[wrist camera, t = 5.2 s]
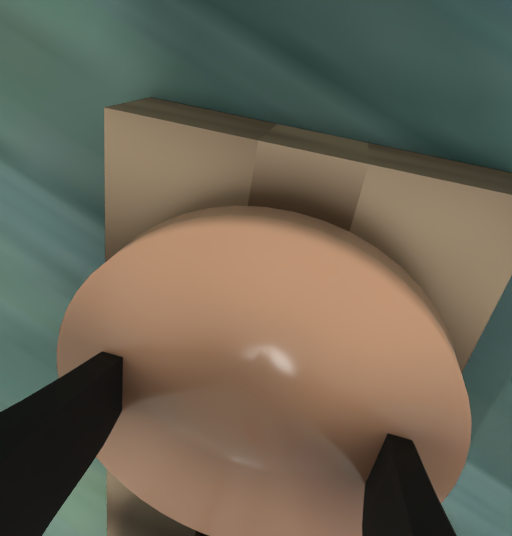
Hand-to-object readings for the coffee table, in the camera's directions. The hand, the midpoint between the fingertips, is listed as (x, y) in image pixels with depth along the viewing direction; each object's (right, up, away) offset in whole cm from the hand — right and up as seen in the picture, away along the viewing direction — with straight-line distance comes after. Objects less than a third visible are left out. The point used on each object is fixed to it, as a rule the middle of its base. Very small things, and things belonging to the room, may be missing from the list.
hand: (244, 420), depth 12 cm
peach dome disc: (+1, +2, +4) cm, 4 cm away
